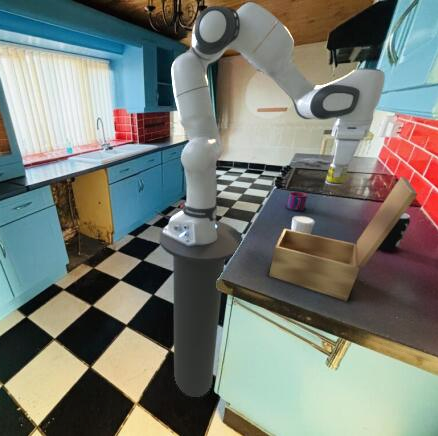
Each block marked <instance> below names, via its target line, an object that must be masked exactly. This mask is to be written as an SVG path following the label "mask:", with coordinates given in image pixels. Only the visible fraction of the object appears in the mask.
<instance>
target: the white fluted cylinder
mask: <svg viewBox="0 0 438 436" xmlns="http://www.w3.org/2000/svg"><path fill="white" fill-rule="evenodd" d="M315 223H316V221H315V220H314V219H313V218H311V217H309V216H305V215H295V216H293V217H292V220H291V226H290V227H291V228H290V230H293V231H297V232H302V233H307V234H311V233H312V231H313V228H314V226H315Z"/></svg>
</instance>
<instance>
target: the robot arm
mask: <svg viewBox="0 0 438 436" xmlns="http://www.w3.org/2000/svg"><path fill="white" fill-rule="evenodd" d="M294 46H295V41H294V38H293V36H292V35H291V33H290V31H289V30H288V28H287V27H286V26H285V25H284V24H283V22H281V21H280V20H279V19H278V18H277V17H276V16H275V15H273V14H272V13H271V12H270V11H268V10H267V9H266V8H264V7H263V6H261V5H259V4H257V3H256V2H252V1H249V2H245V3H244V4H242V5H241V6H240V7H239V8H238V9H237V10H236V9H234V8H230V7H224V6H221V5H210V6H208V7H206V8H205V9H203V10H202V11H201V12H200V13H199V14H198V16H197V17H196V19H195V21H194V23H193V26H192V31H191V41H190V47H189V49H188V50H187V51H186V52H184V53H182V54H179V56H177V57H176V58H175V59H174V61H173V62H172V65H171V81H172V90H173V96H174V100H175V106H176V108H177V114H178V118H179V123H180V125H181V126H182V127H183V130H184V132H185V134H186V136H187V140H188V142H187V143H186V144H185V146H184V148H183V149H182V150H181V151H182V152H181V155H180V162H181V164H182V166H183V169H184V176H185V182H186V183H185V184H186V200H185V201H184V202H182V204H181V205H180V209H181V210H180V211H178V212H174V213H173V215H172V216H171V217H169V216H167V215H165V214H164V213H161V212H160V211H158V210H155V213H156V214H158V215H159V216H160V217H161V216H162V217H163V218H165V219H167V220H168V224H167V225H165V226H166V227H165V226H164V227H165V228H164V227H163V228H164V229H163V228H162V229H163V234H164V235H166V236H168V237H170V238H172V239H175V240H177V241H179V242H181V243H183V244H185V245H188V246H194V245H203V244H209V243H212V242H214V241H216V240H217V238H218V236H217V232H216V228H217V226H216V224H215V221H216V218H217V214H218V210H217V209H218V204H217V194H218V182H217V162H218V160H219V159H220V158H221V156H222V154H223V150H224V149H223V143H222V140H221V133H220V130H219V128H218V124H217V120H216V117H215V114H214V107H213V103H212V102H213V101H212V97H211V92H210V87H209V81H208V73H207V72H208V71H207V70H208V68H210V67H211V66H212V65H214V64H216V63H217V62H218V61H219V60H220V59H221V58H222V56H223V55H224V53H225V52H226V51H228V50H232V51H235V52H238V53H240V55H241V56H242V57H243V58H244V59H245V60H246V61H247V62H248V63H249V64H250V65H252V66H253V67H254V68H256V69H257V70H258V71H259V72H261V73H263V74H264V75H265V76H267V77H268V78H270V79H272V80H273V81H274V82H275V83H276V84H277V86H279V88H280V89H282V91H284V93H286V94H287V95H288V97H289V98H290V99H291V101H292V103H293V106H294V109H295V112H296V114H297V115H298V116H299V117H300V118H301V119H303V120H319V121H325V120H330V119H334V118H335V119H334V123H333V127H332V131H331V134H330V136H331V137H333V138H334V140H333V141H334V142H335V149H334V156H333V159H334V162H333V161H332V164H333V165H334V166H335V170H334V174H333V177H340V175H341V172H342V170H343V168H344V167H347V166H348V167H349V166H350V164H351V162H352V160H353V158H354V156H355V154H356V151H357V149H358V147H359V145H360V143H361V141H363V140H364V139H365V138H367V137H368V135H369V132H370V129H371V127H372V123H373V121H374V112H375V110H376V107H377V106H379V103H380V100H381V97H382V93H383V91H384V86H385V79H386V74H385V72H384V71H383V70H381V69H379V68H370V67H367V68H365V67H363V68H361V67H360V68H356V69H353V70H352V71H351V72H349V73H348V74H346V75H343V77H340V78H339V79H336V80H334V81H331V82H329V83H327V84H323V85H319V84H314V83H312V82H311V81H310V80H309V79H308V78H307V77H306V76H305V75H304V74H303V72H302V71H300V69H299V68H298V67H297V65H295V62H294V57H293V56H294V55H293V54H294V53H293V52H294Z"/></svg>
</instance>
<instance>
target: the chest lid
mask: <svg viewBox="0 0 438 436" xmlns="http://www.w3.org/2000/svg"><path fill="white" fill-rule="evenodd" d="M418 195H419V194H418V192H417V191H416V189H415V188H414V186H412V184H411V183H410V181H409V180H408V179H407V177H404V176H400V177H399V179H398V180H397V182H396V183H395V185H394V186H393V188H392V190H391V191H390V192H389V194H388V196H387V197H386V198H385V200H384V201H383V203H381V206H380V207H379V208H378V210H377V211H376V213H375V214H374V216H373V217H372V219H371V221H370V222H369V223H368V225H367V226H366V228H365V229H364V231H363V233H361V235H360V236H359V238H358V240H357V241H356V244H357V252H358V266H360V268H364V267H365V266H366V265H367V263H368V262H369V261H370V259H371V258H372V257H373V255H374V254H375V253H376V251H377V250H378V249H377V248H378V247H379V246H380V244H381V243H382V242H383V240H384V239H385V238H386V236H387V235H388V234H389V232H390V231H391V230H392V228H393V227H394V226H395V224H396V223H397V222H398V220H399V219H400V218H401V216H402V215H403V213H405V212H406V211H407V209H409V207H410V206H411V204H412V202H413V201H414V200H415V199H416V198H417V196H418Z"/></svg>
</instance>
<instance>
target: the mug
mask: <svg viewBox="0 0 438 436" xmlns="http://www.w3.org/2000/svg"><path fill="white" fill-rule="evenodd" d="M307 199H308V194H307V193H305V192H301V191H291V192H290V193H289V196H288V199H287V200H288V201H287V204H286V205H287V206H286V208H287V209H288V210H291V211H296V212H301V211H304V210H305V206H306V202H307Z"/></svg>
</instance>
